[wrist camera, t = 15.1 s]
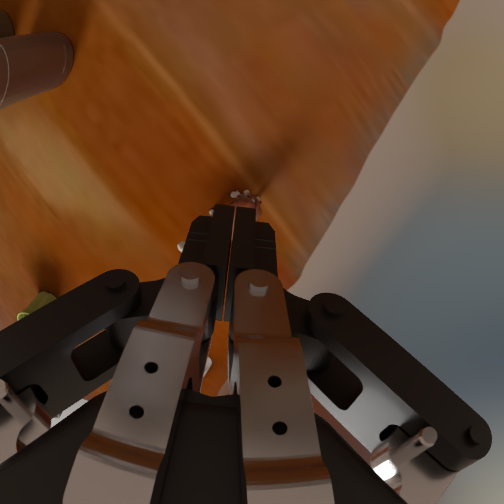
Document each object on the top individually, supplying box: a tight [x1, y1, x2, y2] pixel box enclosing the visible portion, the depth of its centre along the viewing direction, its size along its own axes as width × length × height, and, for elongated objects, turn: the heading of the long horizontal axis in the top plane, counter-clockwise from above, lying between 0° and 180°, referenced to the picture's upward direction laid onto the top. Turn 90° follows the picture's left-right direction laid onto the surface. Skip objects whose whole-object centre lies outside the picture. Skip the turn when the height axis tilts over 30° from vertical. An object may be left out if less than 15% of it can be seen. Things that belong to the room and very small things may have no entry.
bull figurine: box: [177, 190, 262, 252], centre depth 44 cm, size 4×13×8 cm, turn 124°
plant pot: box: [17, 291, 57, 320], centre depth 57 cm, size 9×9×9 cm
